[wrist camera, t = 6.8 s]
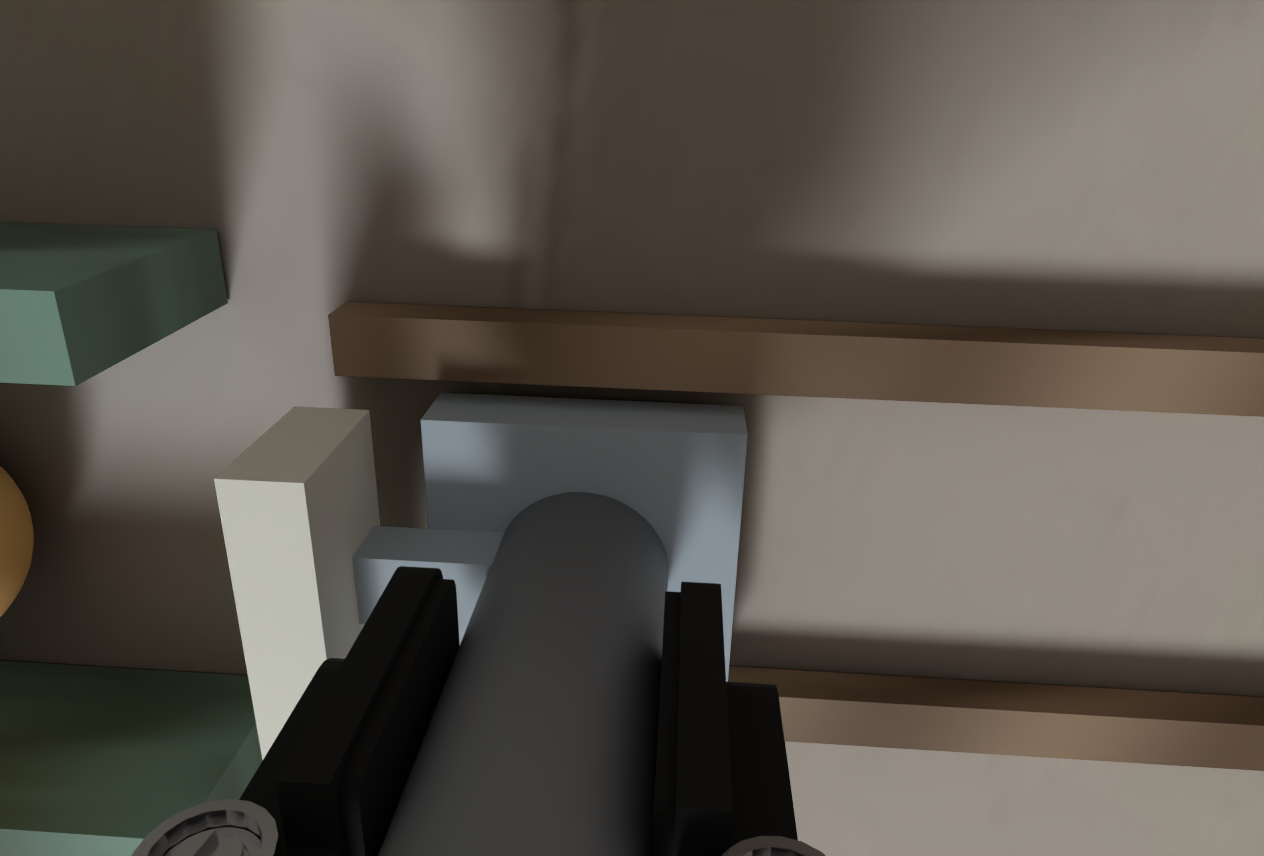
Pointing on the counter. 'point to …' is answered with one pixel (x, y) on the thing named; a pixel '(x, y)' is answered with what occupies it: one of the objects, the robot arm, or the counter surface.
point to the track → (878, 370)
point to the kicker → (498, 598)
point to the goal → (87, 695)
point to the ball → (13, 540)
